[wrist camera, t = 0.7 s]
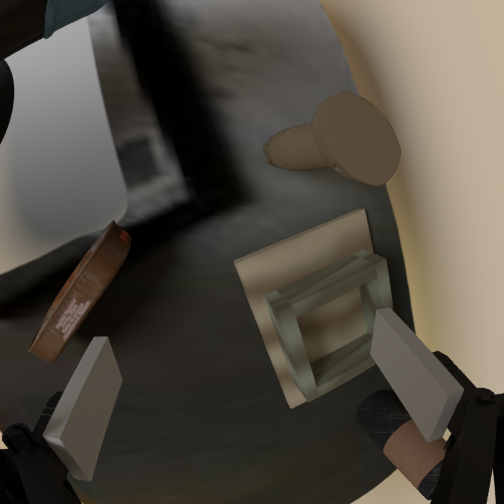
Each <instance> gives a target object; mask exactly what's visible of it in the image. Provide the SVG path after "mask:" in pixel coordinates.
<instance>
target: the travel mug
mask: <svg viewBox="0 0 504 504" xmlns="http://www.w3.org/2000/svg"><path fill="white" fill-rule="evenodd" d="M356 418H357V421H358V422H359V424H360V425H361V426H362V427H363V429H364V430H365V431H366V432H367V434H368V435H369V436H370V437H371V438H372V440H373V441H374V442H375V443H376V445H377V446H378V447H379V448H380V449H381V451H382V452H383V453H384V454H385V455H386V456H387V458H388V459H389V460H390V461H391V462H392V463H393V464H394V465H395V466H396V467H397V468H398V470H399V471H401V473H402V474H403V475H404V476H405V477H406V478H407V479H408V480H409V481H410V482H411V483H412V484H413V485H414V487H415V488H416V489H417V490H418V491H419V492H420V493H421V494H422V495H423V496H424V497H425V498H426V499H427V500H432V497H433V494H434V491H435V488H436V485H437V481H438V478H439V474H440V471H441V467H442V464H443V460H444V456H445V452H446V449H445V450H444V449H443V448H444V446H445V444H446V442H447V441H445V440H444V439H443V438H442V437H441V438H439V439H436V440H434V441H432V442H429V443H427V442H426V440H425V438H424V437H423V435H422V433H421V432H420V430H419V429H418V427H417V426H416V424H415V422H414V421H413V419H412V418H411V416H410V414H409V413H408V411H407V410H406V408H405V407H404V405H403V403H402V402H401V401H399V400H398V399H397V398H396V397H395V396H393V395H392V394H391V393H389V392H388V391H385V390H382V391H378V392H376V393H374V394H372V395H371V396H369V397H368V398H367V399H366V400H365V401H364V402H363V403H362V404H361V406H360V407H359V409H358V411H357V415H356ZM446 448H447V447H446Z"/></svg>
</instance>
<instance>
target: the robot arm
mask: <svg viewBox="0 0 504 504" xmlns="http://www.w3.org/2000/svg"><path fill="white" fill-rule="evenodd" d="M107 1H108V0H0V144H1V142H2V140H3V138H4V135H5V133H6V130H7V128H8V125H9V122H10V118H11V114H12V109H13V102H14V81H13V76H12V73H11V70H10V68H9V66H8V64H7V63H6V61H5V60H4V59H5V58H7V57H8V56H10V55H12V54H13V53H15V52H17V51H19V50H21V49H23V48H24V47H26V46H28V45H30V44H32V43H34V42H36V41H38V40H40V39H42V38H45V39H47V38H49V37H50V36H52V34H53V33H54V32H55V31H56V30H58V29H60V28H62V27H64V26H66V25H68V24H70V23H72V22H75V21H77V20H79V19H81V18H83V17H86V16H88V15H90V14H92V13H94V12H96V11H97V10H99V9H100V8H101V7H102V6H103V5H104V4H105V3H106V2H107ZM370 355H371V356H372V358H373V359H374V361H375V362H376V364H377V365H378V367H379V368H380V370H381V371H382V373H383V374H384V376H385V377H386V379H387V380H388V382H389V383H390V385H391V386H392V388H393V390H394V391H395V393H396V394H397V396H398V397H399V399H400V400H401V402H402V403H403V405H404V407H405V408H406V410H407V411H408V413H409V414H410V416H411V418H412V419H413V421H414V422H415V424H416V426H417V427H418V429H419V430H420V432H421V433H422V435H423V437H424V438H425V440H426V442H427V443H429V442H432V441H434V440H436V439H439V438H441V437H443V435H444V433H445V431H446V429H447V428H448V429H449V431H450V432H451V435H450V437H449V439H448V440H447V442H446V444H445V446H444V448H443V449H444V450H445V449H446V452H445V456H444V460H443V464H442V467H441V471H440V474H439V478H438V481H437V485H436V488H435V491H434V494H433V497H432V500H431V503H430V504H486V503H487V498H488V493H489V487H490V482H491V475H492V468H493V475H494V485H495V497H496V504H504V393H503V394H496V395H495V394H494V392H492V391H491V390H489V389H486V388H476V387H475V386H474V384H473V383H472V382H471V381H470V380H469V379H468V378H467V377H466V376H465V374H464V373H463V372H462V371H461V370H459V368H458V367H457V366H456V365H455V364H454V363H453V362H452V360H451V359H450V358H449V357H448V356H446V355H445V354H443V353H441V352H439V351H436V352H433V353H432V352H431V351H430V350H429V349H428V348H427V347H426V346H425V345H424V344H423V343H422V341H421V340H420V339H419V338H418V337H417V336H416V335H415V334H414V333H413V332H412V331H411V330H410V328H409V327H408V326H407V325H406V324H405V323H404V322H403V321H402V320H401V319H400V318H399V317H398V316H397V315H396V314H395V313H394V312H393V311H392V309H391V308H390V307H388V308H382V309H377V310H376V315H375V323H374V331H373V338H372V345H371V351H370ZM122 381H123V379H122V376H121V374H120V371H119V368H118V366H117V363H116V360H115V357H114V354H113V351H112V348H111V345H110V342H109V339H108V337H94V338H93V340H92V341H91V343H90V345H89V347H88V348H87V350H86V352H85V354H84V356H83V357H82V359H81V361H80V363H79V365H78V366H77V368H76V370H75V372H74V374H73V376H72V378H71V379H70V381H69V383H68V385H67V387H66V389H65V391H64V392H56V393H55V394H54V395H53V396H52V397H51V398H50V399H49V401H48V403H47V405H46V408H45V409H44V410H43V412H42V415H41V416H40V418H39V420H38V422H37V424H36V426H35V428H34V430H33V432H31V431H30V429H29V428H28V426H27V425H25V424H23V423H15V424H12V425H10V426H9V427H7V428H6V429H5V431H4V432H3V435H2V441H3V442H4V444H5V445H6V446H7V447H8V449H0V504H82V503H81V502H80V500H79V498H78V496H77V495H76V493H75V491H74V489H73V487H72V486H71V484H70V482H69V481H68V479H67V478H66V477H67V474H68V471H69V472H70V473H71V475H72V476H73V477H74V478H75V479H80V480H86V481H91V480H92V476H93V472H94V469H95V465H96V462H97V458H98V455H99V452H100V448H101V445H102V442H103V438H104V435H105V432H106V429H107V425H108V422H109V419H110V416H111V413H112V410H113V407H114V404H115V401H116V398H117V395H118V392H119V389H120V386H121V383H122ZM446 447H447V448H446Z"/></svg>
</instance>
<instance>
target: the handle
mask: <svg viewBox="0 0 504 504" xmlns="http://www.w3.org/2000/svg"><path fill="white" fill-rule="evenodd" d="M263 151H264V152H265V154H266V156H267V162H268V163H269V164H270V165H272V166H278V167H280V168H283V169H289V170H309V169H315V168H322V167H331V168H332V169H334V170H335V171H336V172H338V173H339V174H341V175H342V176H344V177H345V178H348V179H350V180H353V181H356V182H359V183H362V184H366V185H370V186H381V185H383V184H385V183H386V182H387V181H388V180H389V179H390V178H391V177H392V176H393V174H394V173H395V171H396V169H397V167H398V164H399V161H400V154H401V149H400V146H399V143H398V140H397V138H396V135H395V132H394V130H393V128H392V126H391V124H390V123H389V121H388V120H387V119H386V118H385V116H384V115H383V114H382V113H381V112H380V111H379V110H378V108H377V107H376V106H374V105H373V104H372V103H371V102H370V101H368V100H366V99H365V98H362V97H360V96H358V95H356V94H353V93H351V92H348V91H345V92H341V93H338V94H336V95H333V96H331V97H329V98H328V99H326V100H325V101H324V102H323V103H322V104H321V105H320V106H319V107H318V109H317V111H316V112H315V114H314V117H313V120H312V123H311V124H304V125H298V126H294V127H290V128H287V129H285V130H283V131H281V132H279V133H277V134H276V135H274V136H273V137H271V138H270V139H269V142H268V144H267V145H265V146H264V147H263Z"/></svg>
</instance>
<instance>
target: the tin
mask: <svg viewBox="0 0 504 504" xmlns="http://www.w3.org/2000/svg"><path fill="white" fill-rule="evenodd" d="M131 239H132V238H131V236H130V235H129V234H128V233H127V232H125V231H124V230H123V229H122V228H120V227H119V226H118V225H117V224H116V223H115V221H114V220H113V221H112V222H111V223H110V224H109V225H108V226H107V227H106V228H105V229H104V231H103V232H102V233H101V235H100V236H99V237H98V238H97V240H96V241H95V243H94V244H93V245H92V246H91V248H90V249H89V251H88V252H87V253H86V255H85V256H84V257H83V259H82V260H81V262H80V263H79V265H78V266H77V268H76V269H75V270H74V272H73V273H72V275H71V276H70V278H69V279H68V281H67V282H66V284H65V285H64V287H63V288H62V290H61V291H60V293H59V294H58V296H57V297H56V299H55V300H54V302H53V304H52V306H51V307H50V309H49V310H48V312H47V314H46V316H45V317H44V319H43V321H42V323H41V325H40V327H39V329H38V331H37V333H36V335H35V337H34V338H33V340H32V343H31V344H30V347H29V349H28V351H30V352H32V353H34V354H35V355H37V356H38V357H40V358H41V359H43V360H44V361H46V362H48V363H53V362H54V361H55V360H56V359H57V358H58V357H59V356H60V354H61V353H62V351H63V350H64V349H65V347H66V346H67V344H68V343H69V341H70V340H71V338H72V337H73V336H74V334H75V333H76V331H77V330H78V328H79V327H80V325H81V324H82V323H83V321H84V320H85V318H86V317H87V315H88V314H89V313H90V311H91V310H92V308H93V307H94V306H95V304H96V303H97V301H98V300H99V298H100V297H101V296H102V294H103V293H104V291H105V290H106V289H107V287H108V286H109V284H110V283H111V281H112V280H113V278H114V277H115V275H116V274H117V272H118V271H119V269H120V267H121V266H122V264H123V262H124V261H125V259H126V257H127V255H128V253H129V250H130V244H131Z"/></svg>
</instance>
